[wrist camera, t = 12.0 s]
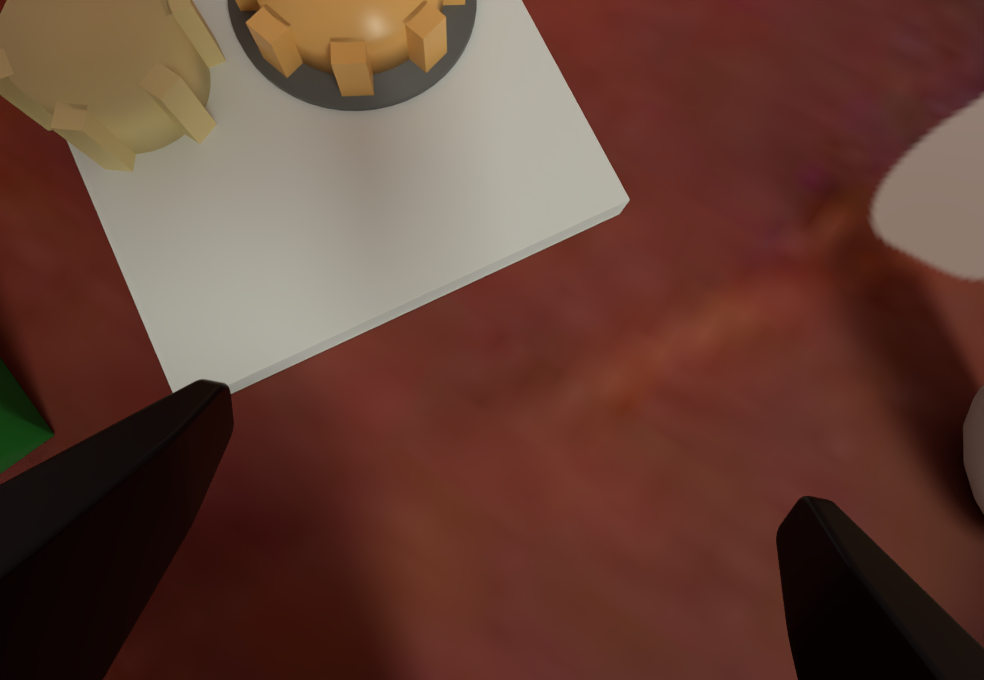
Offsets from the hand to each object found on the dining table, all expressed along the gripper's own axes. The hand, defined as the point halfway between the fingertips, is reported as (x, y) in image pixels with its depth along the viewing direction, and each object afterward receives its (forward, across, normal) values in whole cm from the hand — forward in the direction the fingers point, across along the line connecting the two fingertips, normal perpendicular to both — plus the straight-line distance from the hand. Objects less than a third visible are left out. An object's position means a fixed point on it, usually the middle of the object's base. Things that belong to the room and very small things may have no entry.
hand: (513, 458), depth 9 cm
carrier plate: (+18, +9, +1) cm, 20 cm away
